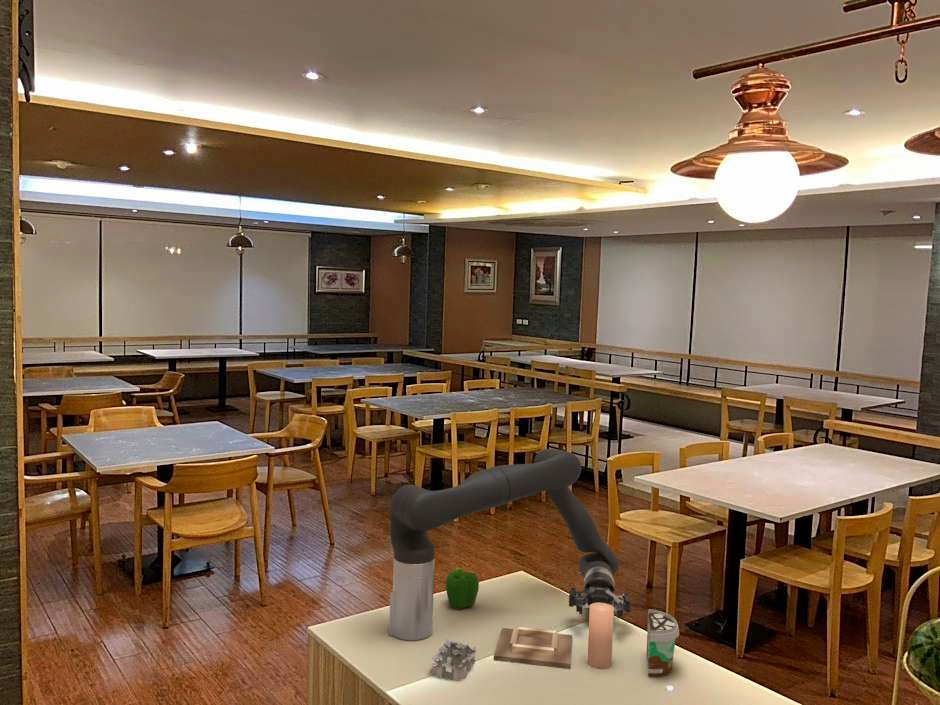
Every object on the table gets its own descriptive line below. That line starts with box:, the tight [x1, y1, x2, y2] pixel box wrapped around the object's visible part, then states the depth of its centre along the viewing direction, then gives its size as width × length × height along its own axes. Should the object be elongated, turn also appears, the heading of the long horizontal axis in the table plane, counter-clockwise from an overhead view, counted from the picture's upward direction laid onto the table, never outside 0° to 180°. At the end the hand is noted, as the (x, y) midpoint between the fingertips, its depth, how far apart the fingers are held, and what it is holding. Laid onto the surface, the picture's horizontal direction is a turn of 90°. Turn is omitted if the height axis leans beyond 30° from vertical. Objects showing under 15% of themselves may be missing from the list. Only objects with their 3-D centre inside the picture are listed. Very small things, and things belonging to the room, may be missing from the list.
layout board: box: [493, 626, 573, 670], centre depth 159 cm, size 16×14×2 cm
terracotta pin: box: [587, 603, 615, 670], centre depth 153 cm, size 5×5×12 cm
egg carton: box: [431, 638, 477, 682], centre depth 150 cm, size 11×8×4 cm
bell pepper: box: [445, 566, 480, 610], centre depth 182 cm, size 8×8×10 cm
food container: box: [646, 608, 680, 678], centre depth 152 cm, size 12×6×10 cm, turn 168°
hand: (599, 612), depth 164 cm, fingers open, 8 cm apart
